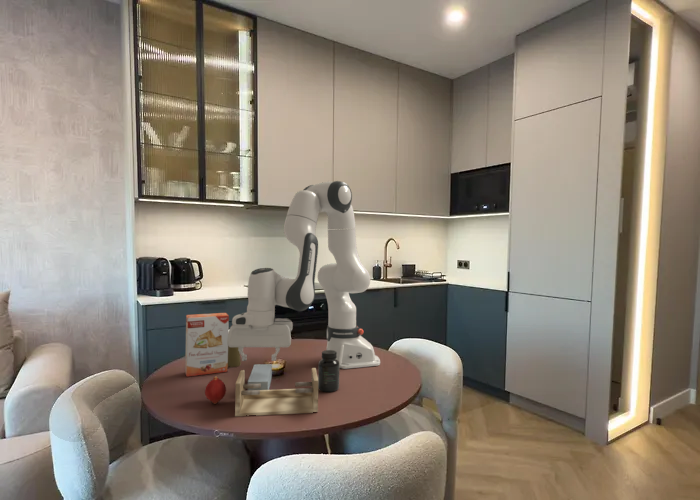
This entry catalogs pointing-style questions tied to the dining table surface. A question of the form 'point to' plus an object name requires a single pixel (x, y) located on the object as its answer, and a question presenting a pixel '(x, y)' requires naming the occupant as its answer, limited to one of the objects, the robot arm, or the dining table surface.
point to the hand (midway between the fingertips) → (259, 360)
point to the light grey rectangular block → (261, 376)
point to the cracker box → (206, 344)
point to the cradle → (275, 398)
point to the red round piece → (215, 390)
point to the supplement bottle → (328, 372)
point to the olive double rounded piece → (233, 357)
